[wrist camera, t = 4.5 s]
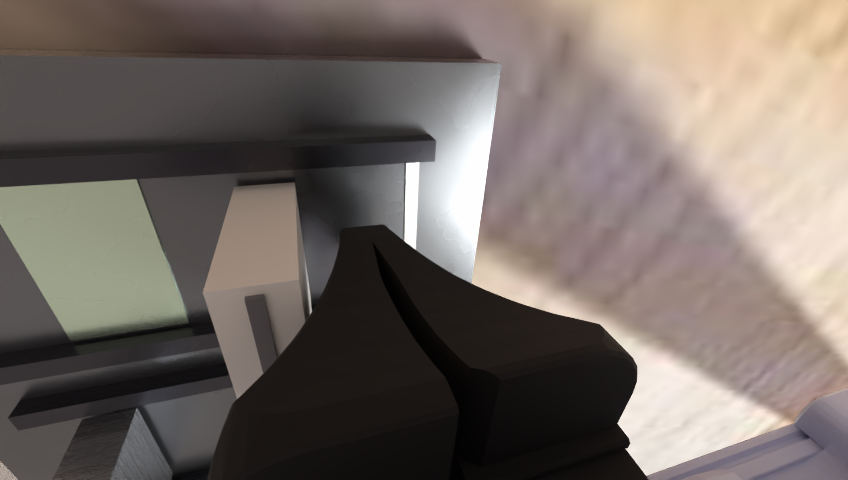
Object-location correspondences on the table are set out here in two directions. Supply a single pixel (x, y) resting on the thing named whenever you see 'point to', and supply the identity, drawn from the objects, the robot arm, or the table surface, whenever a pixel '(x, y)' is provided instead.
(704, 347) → the table surface
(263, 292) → the fader
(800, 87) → the table surface
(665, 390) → the table surface
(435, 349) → the robot arm
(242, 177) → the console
